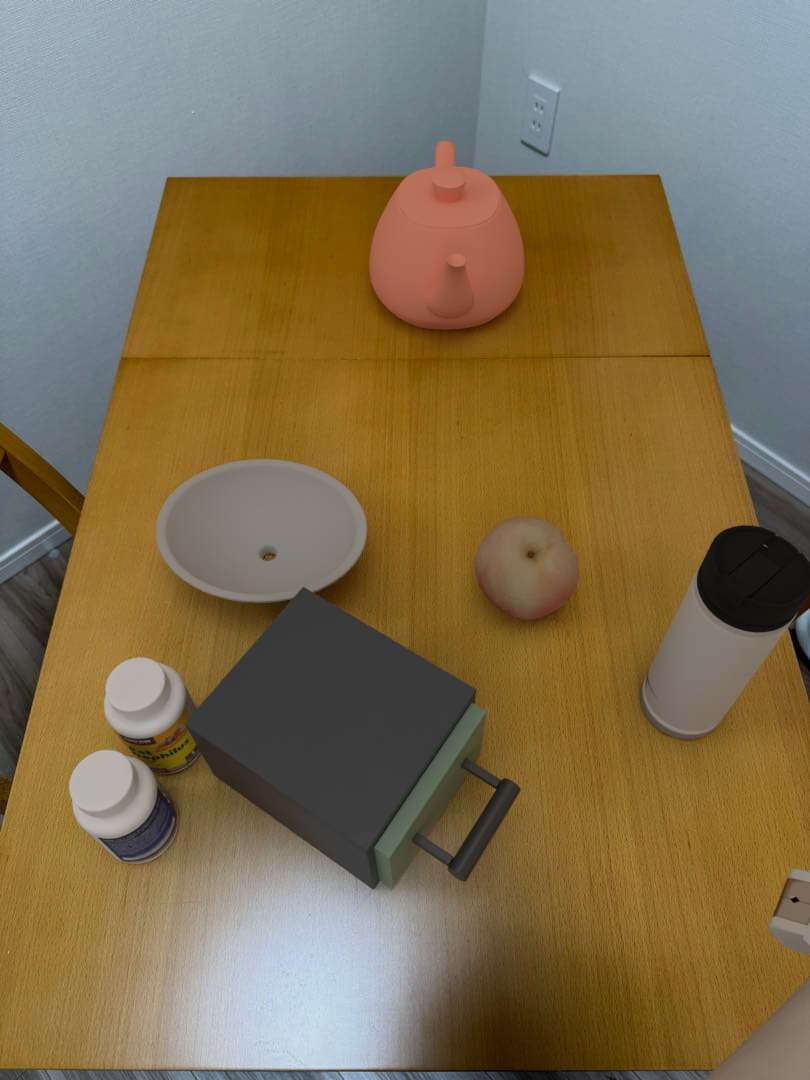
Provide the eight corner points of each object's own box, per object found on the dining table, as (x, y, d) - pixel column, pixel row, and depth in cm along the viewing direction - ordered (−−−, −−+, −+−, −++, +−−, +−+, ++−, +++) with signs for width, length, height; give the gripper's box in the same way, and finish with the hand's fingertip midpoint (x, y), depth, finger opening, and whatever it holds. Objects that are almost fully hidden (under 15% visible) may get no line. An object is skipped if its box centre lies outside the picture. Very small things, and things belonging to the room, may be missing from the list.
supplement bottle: (136, 785, 63) (92, 731, 55) (132, 716, 66) (90, 655, 58) (212, 767, 64) (180, 711, 55) (204, 700, 67) (173, 638, 59)
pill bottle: (195, 808, 62) (161, 759, 54) (152, 878, 59) (110, 837, 51) (133, 778, 63) (91, 725, 55) (89, 845, 61) (38, 800, 53)
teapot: (533, 370, 87) (549, 259, 76) (369, 373, 87) (361, 263, 76) (512, 222, 102) (523, 110, 91) (371, 225, 102) (365, 114, 91)
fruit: (499, 649, 69) (507, 597, 63) (459, 572, 73) (462, 516, 67) (586, 616, 71) (603, 563, 64) (542, 542, 75) (553, 485, 68)
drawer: (530, 785, 62) (542, 744, 55) (445, 927, 56) (448, 899, 50) (333, 663, 68) (324, 613, 61) (240, 781, 62) (219, 740, 56)
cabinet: (470, 744, 65) (476, 689, 57) (374, 890, 59) (366, 851, 51) (316, 648, 69) (302, 586, 62) (213, 775, 63) (183, 723, 56)
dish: (144, 613, 72) (127, 581, 67) (200, 481, 80) (188, 446, 76) (349, 648, 69) (344, 617, 65) (386, 509, 77) (383, 474, 73)
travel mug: (619, 700, 66) (684, 557, 50) (674, 651, 69) (754, 498, 52) (682, 760, 64) (773, 628, 47) (738, 706, 66) (843, 563, 50)
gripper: (1211, 694, 30) (830, 679, 42) (1114, 1343, 21) (652, 1095, 32) (1258, 805, 32) (883, 762, 44) (1190, 1440, 23) (731, 1175, 34)
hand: (784, 906), depth 38 cm, fingers closed
